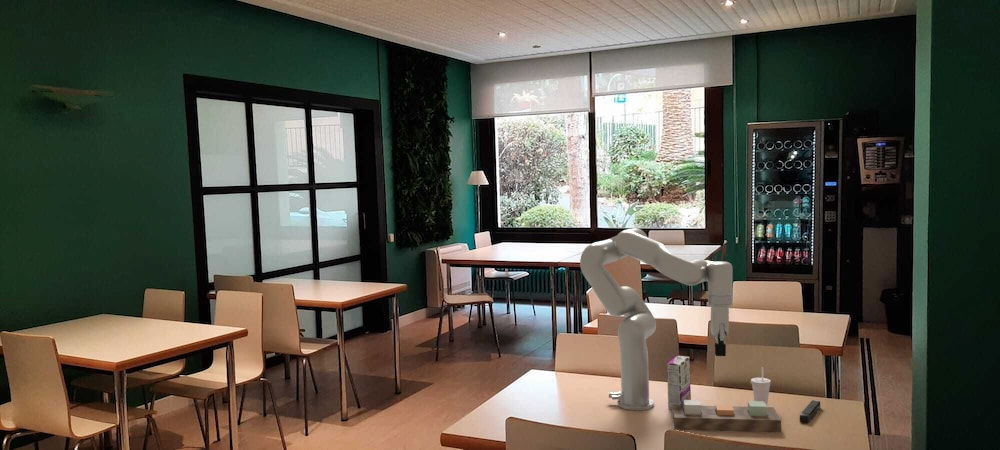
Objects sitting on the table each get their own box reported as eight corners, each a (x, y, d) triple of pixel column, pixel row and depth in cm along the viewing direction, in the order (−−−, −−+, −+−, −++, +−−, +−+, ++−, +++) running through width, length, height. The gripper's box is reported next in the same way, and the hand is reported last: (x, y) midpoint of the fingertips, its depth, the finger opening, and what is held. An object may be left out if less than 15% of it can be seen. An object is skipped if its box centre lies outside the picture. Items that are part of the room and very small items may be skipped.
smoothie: (772, 411, 234) (772, 370, 233) (752, 410, 236) (752, 370, 235) (769, 405, 241) (768, 365, 240) (749, 404, 242) (749, 364, 241)
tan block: (717, 422, 222) (717, 409, 222) (715, 417, 227) (715, 404, 227) (734, 423, 221) (733, 410, 221) (731, 417, 226) (731, 405, 226)
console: (674, 429, 221) (674, 417, 221) (672, 416, 233) (672, 404, 233) (781, 433, 215) (781, 420, 215) (773, 419, 227) (773, 407, 227)
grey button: (685, 417, 224) (684, 404, 223) (683, 412, 229) (683, 399, 228) (701, 418, 223) (700, 405, 222) (699, 412, 228) (699, 400, 227)
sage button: (750, 419, 220) (750, 406, 220) (747, 413, 225) (747, 401, 225) (767, 419, 219) (767, 406, 219) (764, 414, 224) (764, 401, 224)
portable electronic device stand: (807, 425, 222) (807, 416, 221) (799, 423, 223) (799, 414, 223) (821, 408, 236) (821, 400, 236) (812, 407, 237) (812, 398, 237)
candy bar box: (677, 400, 249) (676, 355, 248) (691, 402, 247) (690, 356, 245) (667, 409, 240) (666, 362, 239) (681, 412, 237) (680, 364, 236)
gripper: (706, 295, 235) (706, 349, 236) (710, 304, 220) (710, 361, 221) (729, 295, 233) (729, 349, 235) (735, 304, 219) (735, 362, 220)
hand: (720, 355), depth 228 cm, fingers closed
